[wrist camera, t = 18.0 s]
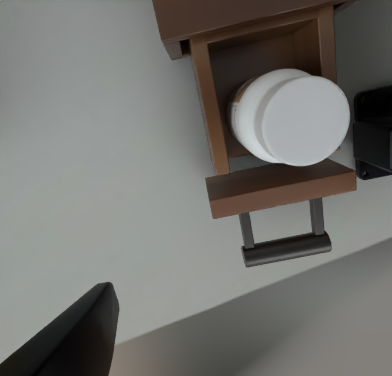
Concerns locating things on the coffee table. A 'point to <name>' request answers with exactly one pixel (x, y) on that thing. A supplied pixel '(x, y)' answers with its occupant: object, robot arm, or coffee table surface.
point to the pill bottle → (289, 117)
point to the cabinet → (223, 17)
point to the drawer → (230, 147)
